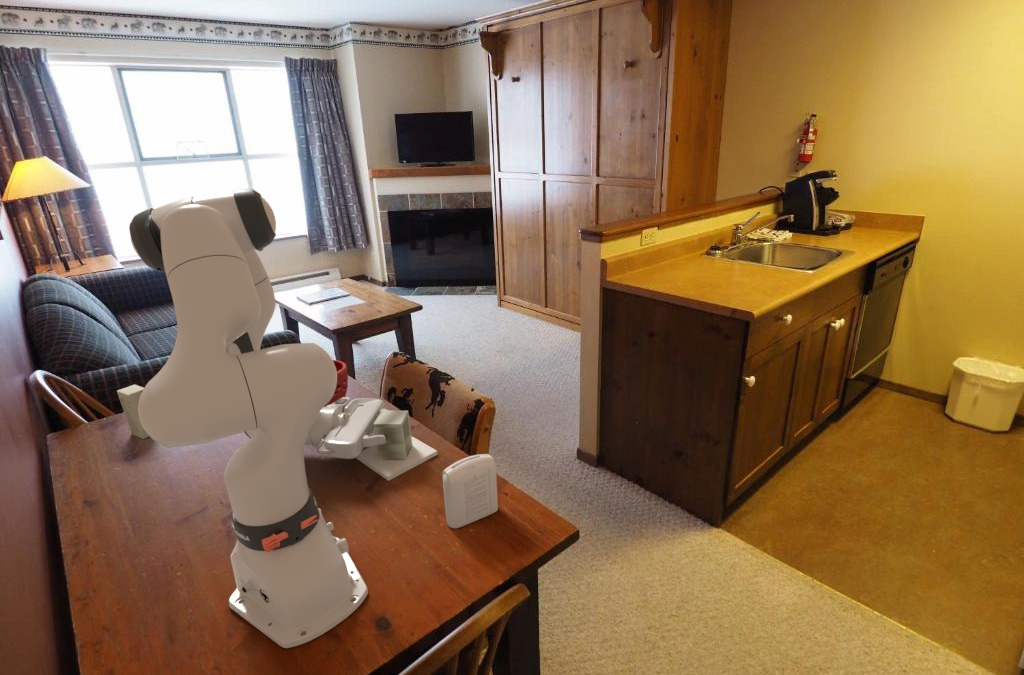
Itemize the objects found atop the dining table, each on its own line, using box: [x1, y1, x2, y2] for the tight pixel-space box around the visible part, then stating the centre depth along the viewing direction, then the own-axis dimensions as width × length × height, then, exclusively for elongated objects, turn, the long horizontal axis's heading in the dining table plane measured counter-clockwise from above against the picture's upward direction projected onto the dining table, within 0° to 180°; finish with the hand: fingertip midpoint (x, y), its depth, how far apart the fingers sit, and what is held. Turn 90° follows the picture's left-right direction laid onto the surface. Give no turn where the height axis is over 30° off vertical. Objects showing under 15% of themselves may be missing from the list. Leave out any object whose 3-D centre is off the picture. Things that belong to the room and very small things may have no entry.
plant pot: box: [324, 359, 349, 407], centre depth 143 cm, size 13×13×12 cm
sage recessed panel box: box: [373, 410, 413, 460], centre depth 119 cm, size 6×6×9 cm
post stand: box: [356, 435, 438, 482], centre depth 120 cm, size 13×13×8 cm
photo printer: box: [441, 453, 499, 529], centre depth 99 cm, size 10×4×12 cm, turn 122°
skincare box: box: [116, 384, 150, 440], centre depth 134 cm, size 6×4×12 cm
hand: (392, 427), depth 119 cm, fingers open, 8 cm apart
